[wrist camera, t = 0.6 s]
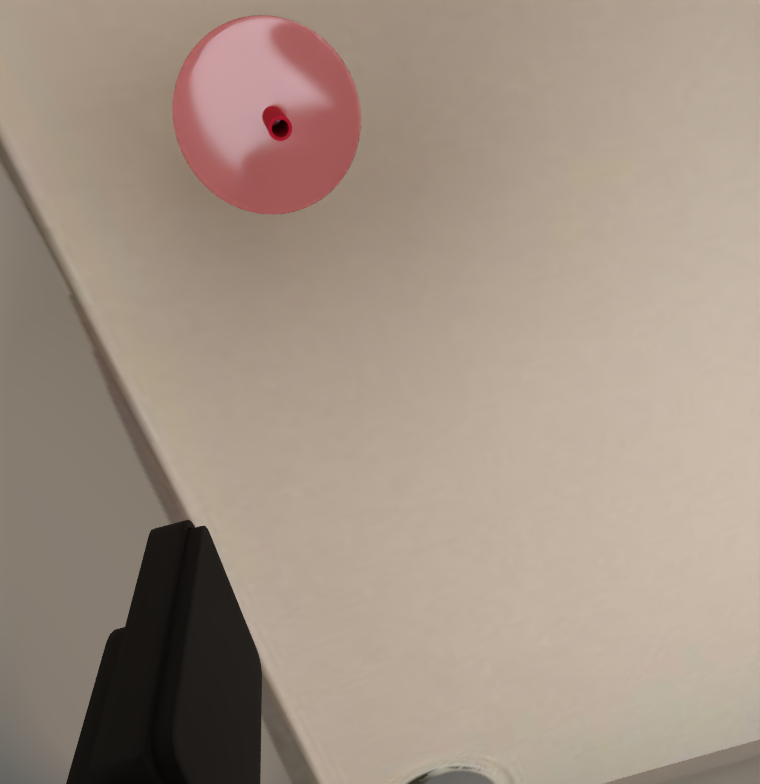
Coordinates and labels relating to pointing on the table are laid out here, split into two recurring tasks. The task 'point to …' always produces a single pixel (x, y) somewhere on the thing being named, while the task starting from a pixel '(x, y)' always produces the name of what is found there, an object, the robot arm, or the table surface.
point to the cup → (266, 114)
